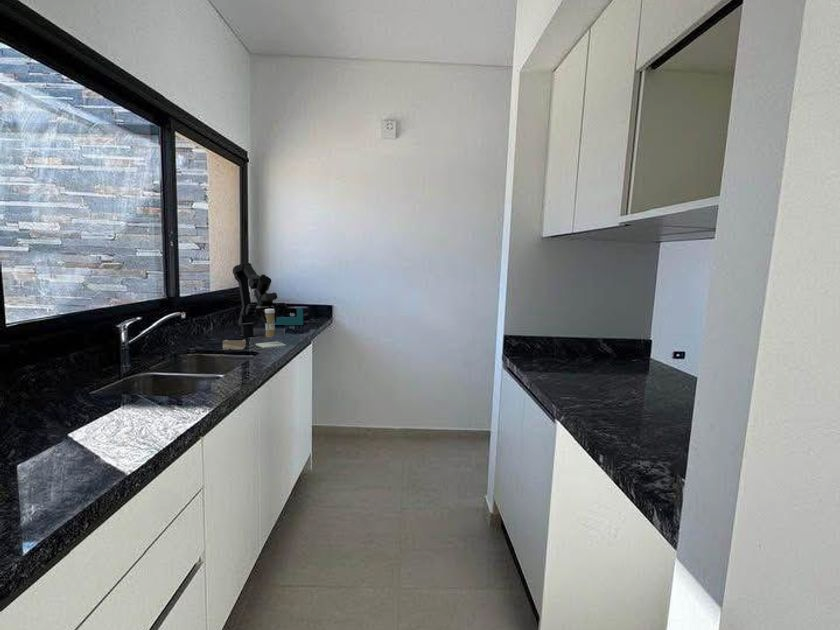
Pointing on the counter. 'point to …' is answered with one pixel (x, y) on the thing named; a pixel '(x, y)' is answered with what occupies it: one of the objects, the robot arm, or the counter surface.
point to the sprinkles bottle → (270, 322)
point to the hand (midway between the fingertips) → (270, 322)
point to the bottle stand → (234, 344)
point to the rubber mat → (270, 344)
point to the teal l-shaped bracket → (291, 319)
